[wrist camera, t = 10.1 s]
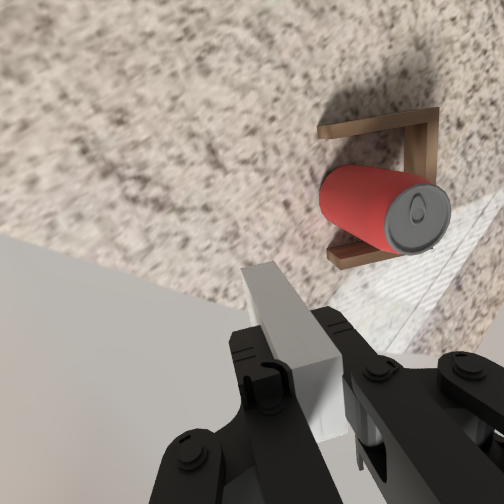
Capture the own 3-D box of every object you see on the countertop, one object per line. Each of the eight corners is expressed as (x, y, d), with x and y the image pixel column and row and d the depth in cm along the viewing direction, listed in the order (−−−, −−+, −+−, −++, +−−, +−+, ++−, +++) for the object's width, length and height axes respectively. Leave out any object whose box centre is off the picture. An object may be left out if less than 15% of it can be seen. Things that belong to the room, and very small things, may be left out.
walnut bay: (317, 126, 33) (331, 125, 30) (415, 109, 34) (439, 106, 31) (327, 258, 38) (340, 270, 35) (412, 239, 39) (432, 248, 36)
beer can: (369, 156, 35) (458, 166, 24) (375, 215, 37) (458, 248, 26) (311, 172, 34) (375, 189, 23) (321, 231, 37) (383, 272, 26)
